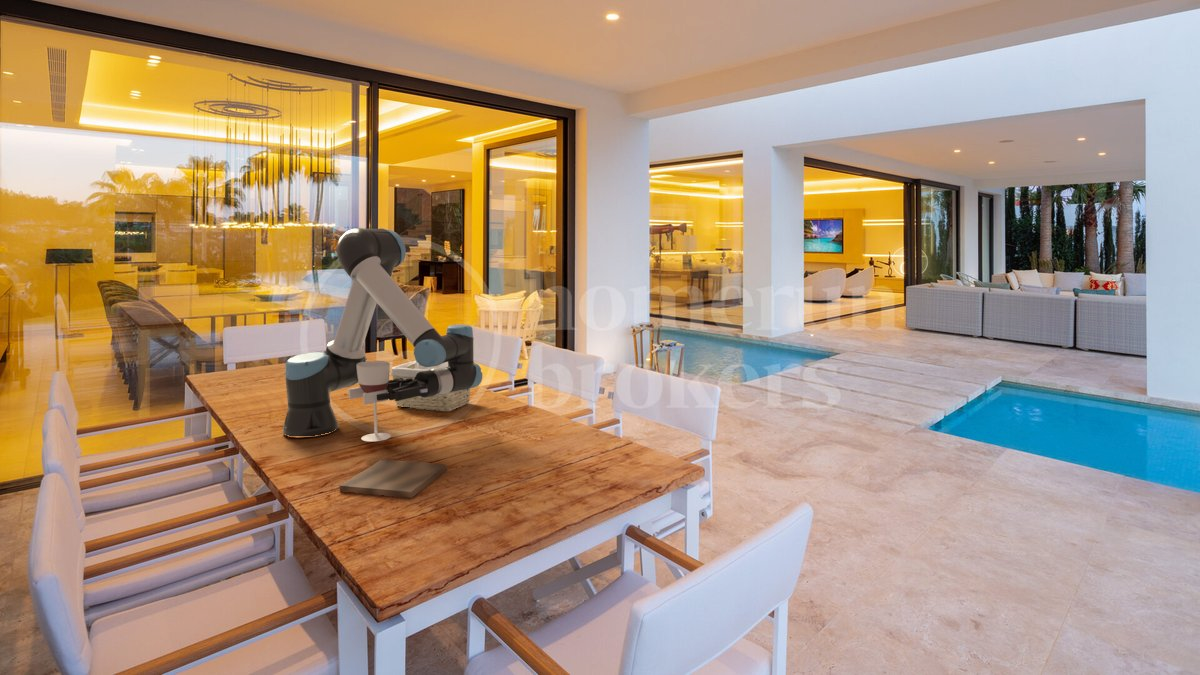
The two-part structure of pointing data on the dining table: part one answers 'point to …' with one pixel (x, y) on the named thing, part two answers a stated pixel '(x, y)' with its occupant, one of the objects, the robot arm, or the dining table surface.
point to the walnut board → (394, 478)
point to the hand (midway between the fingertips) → (356, 396)
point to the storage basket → (433, 402)
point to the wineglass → (374, 388)
